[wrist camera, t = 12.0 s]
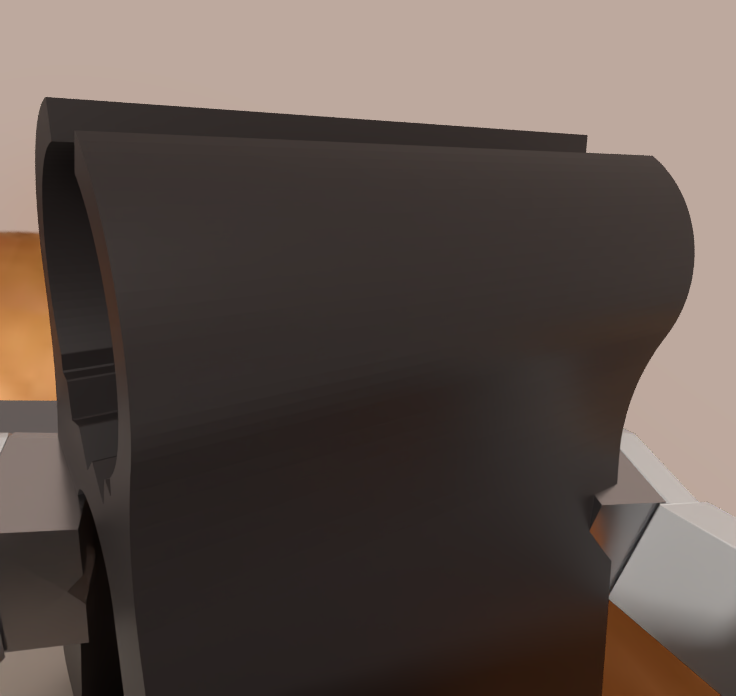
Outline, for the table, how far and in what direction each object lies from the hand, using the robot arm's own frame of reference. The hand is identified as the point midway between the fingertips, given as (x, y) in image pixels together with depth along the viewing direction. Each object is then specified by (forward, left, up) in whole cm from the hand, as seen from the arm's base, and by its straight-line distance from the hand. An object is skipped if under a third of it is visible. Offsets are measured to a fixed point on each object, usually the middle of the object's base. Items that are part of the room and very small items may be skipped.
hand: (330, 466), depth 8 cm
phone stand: (0, -1, -7) cm, 8 cm away
